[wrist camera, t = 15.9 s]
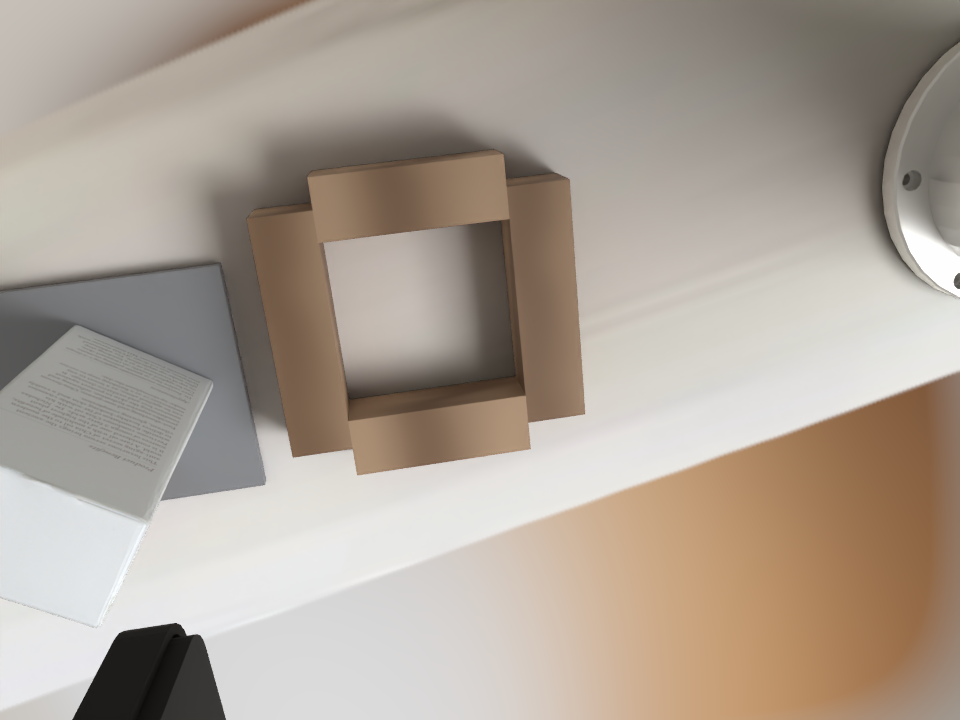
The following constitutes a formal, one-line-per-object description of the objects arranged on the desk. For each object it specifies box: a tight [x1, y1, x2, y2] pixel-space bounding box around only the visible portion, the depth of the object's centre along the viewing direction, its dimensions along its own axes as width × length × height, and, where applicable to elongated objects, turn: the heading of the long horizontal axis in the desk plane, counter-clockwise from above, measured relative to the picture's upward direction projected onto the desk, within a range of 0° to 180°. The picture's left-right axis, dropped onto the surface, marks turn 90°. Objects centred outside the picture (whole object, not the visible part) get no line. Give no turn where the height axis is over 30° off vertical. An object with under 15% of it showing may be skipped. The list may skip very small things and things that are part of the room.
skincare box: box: [0, 325, 213, 628], centre depth 29 cm, size 6×4×12 cm
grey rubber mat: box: [0, 263, 266, 501], centre depth 35 cm, size 10×10×1 cm
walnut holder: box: [246, 149, 585, 475], centre depth 35 cm, size 12×12×2 cm
